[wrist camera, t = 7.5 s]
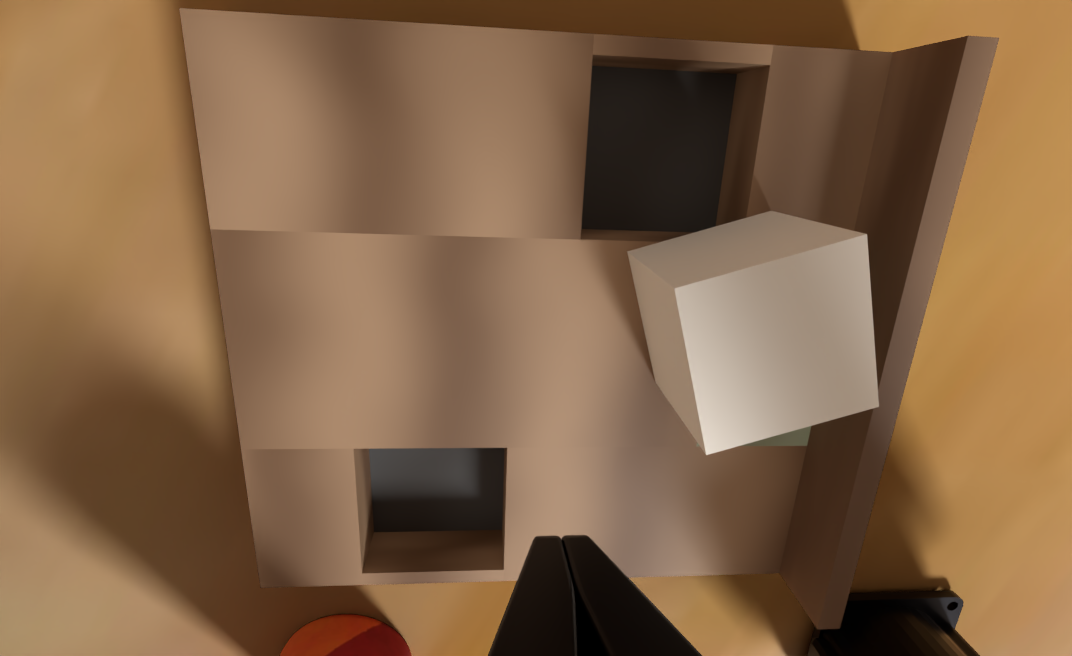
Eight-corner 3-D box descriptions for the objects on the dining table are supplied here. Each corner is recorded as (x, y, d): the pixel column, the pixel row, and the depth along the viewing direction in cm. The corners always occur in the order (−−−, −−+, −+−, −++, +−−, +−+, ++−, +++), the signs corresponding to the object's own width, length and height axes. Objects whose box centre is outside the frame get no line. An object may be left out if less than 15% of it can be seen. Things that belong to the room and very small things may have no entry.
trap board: (864, 65, 18) (999, 37, 13) (769, 531, 24) (839, 628, 19) (222, 26, 16) (113, -21, 12) (283, 541, 22) (227, 651, 17)
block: (771, 210, 17) (866, 234, 13) (787, 345, 18) (878, 406, 14) (627, 251, 17) (674, 288, 13) (655, 382, 18) (706, 455, 14)
